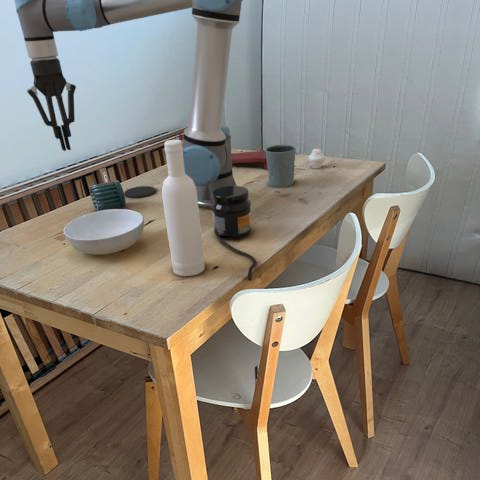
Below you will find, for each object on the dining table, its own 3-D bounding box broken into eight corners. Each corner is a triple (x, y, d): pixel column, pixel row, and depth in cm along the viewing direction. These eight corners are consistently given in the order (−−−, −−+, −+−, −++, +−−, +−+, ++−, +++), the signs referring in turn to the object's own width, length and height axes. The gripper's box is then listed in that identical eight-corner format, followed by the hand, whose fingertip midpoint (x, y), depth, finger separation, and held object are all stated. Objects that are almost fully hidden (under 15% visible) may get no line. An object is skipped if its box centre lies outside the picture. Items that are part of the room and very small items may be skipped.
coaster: (160, 193, 167) (159, 192, 167) (130, 200, 163) (129, 198, 163) (149, 185, 175) (149, 184, 175) (120, 191, 171) (120, 190, 171)
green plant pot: (301, 183, 168) (301, 148, 161) (278, 190, 163) (277, 153, 157) (283, 177, 175) (282, 142, 168) (260, 183, 171) (259, 148, 164)
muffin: (306, 165, 185) (307, 147, 182) (322, 164, 186) (323, 145, 182) (310, 170, 180) (310, 151, 176) (326, 169, 181) (327, 149, 177)
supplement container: (260, 232, 135) (258, 189, 128) (233, 244, 129) (230, 200, 122) (233, 223, 141) (230, 182, 134) (206, 234, 135) (202, 192, 128)
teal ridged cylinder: (120, 203, 162) (114, 178, 158) (127, 208, 155) (121, 182, 151) (93, 209, 159) (87, 184, 155) (99, 215, 152) (93, 188, 148)
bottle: (173, 263, 121) (155, 138, 105) (204, 260, 121) (191, 135, 105) (172, 278, 114) (152, 147, 98) (205, 275, 115) (191, 144, 98)
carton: (212, 173, 195) (266, 170, 182) (210, 161, 193) (264, 157, 180) (228, 165, 204) (281, 161, 191) (226, 153, 202) (279, 149, 189)
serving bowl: (82, 233, 141) (77, 210, 137) (153, 230, 140) (150, 207, 136) (58, 265, 124) (51, 240, 120) (139, 262, 123) (134, 237, 119)
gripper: (67, 55, 135) (86, 143, 148) (15, 60, 130) (40, 150, 143) (72, 56, 129) (92, 147, 142) (19, 62, 124) (44, 156, 137)
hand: (66, 149), depth 142 cm, fingers closed
